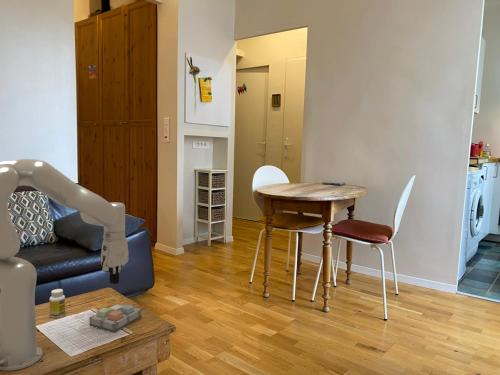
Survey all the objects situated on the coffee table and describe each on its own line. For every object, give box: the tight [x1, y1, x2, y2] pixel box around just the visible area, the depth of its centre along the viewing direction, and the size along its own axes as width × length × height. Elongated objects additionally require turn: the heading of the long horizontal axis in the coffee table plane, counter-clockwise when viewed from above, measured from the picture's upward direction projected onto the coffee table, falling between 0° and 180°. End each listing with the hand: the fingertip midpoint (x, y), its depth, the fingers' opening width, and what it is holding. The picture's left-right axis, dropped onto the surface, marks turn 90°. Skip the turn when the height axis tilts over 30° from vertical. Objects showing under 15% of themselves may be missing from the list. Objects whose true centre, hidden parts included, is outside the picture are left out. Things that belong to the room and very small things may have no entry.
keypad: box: [88, 303, 142, 334], centre depth 146 cm, size 14×12×3 cm
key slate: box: [121, 304, 135, 315], centre depth 147 cm, size 3×3×3 cm
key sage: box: [96, 307, 111, 318], centre depth 144 cm, size 3×3×3 cm
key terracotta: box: [109, 310, 123, 322], centre depth 142 cm, size 3×3×3 cm
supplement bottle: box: [49, 288, 66, 318], centre depth 150 cm, size 5×5×10 cm
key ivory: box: [109, 304, 123, 311], centre depth 149 cm, size 3×3×3 cm
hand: (114, 282), depth 148 cm, fingers closed
